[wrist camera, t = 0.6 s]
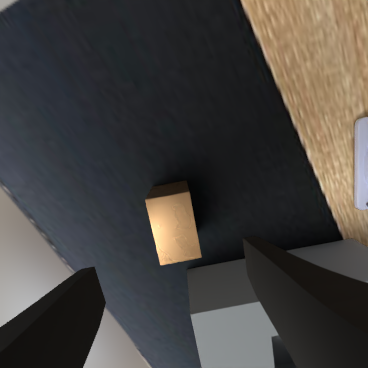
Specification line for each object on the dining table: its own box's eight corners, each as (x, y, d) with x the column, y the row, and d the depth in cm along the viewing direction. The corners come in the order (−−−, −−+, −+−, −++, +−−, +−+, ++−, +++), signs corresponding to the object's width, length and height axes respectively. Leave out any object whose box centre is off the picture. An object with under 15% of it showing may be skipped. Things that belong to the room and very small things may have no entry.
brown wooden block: (186, 180, 17) (189, 191, 13) (195, 232, 18) (201, 257, 14) (152, 186, 17) (145, 199, 13) (163, 238, 18) (160, 265, 14)
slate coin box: (351, 238, 19) (413, 272, 14) (351, 352, 22) (402, 413, 17) (186, 269, 19) (190, 314, 14) (209, 379, 22) (218, 448, 17)
